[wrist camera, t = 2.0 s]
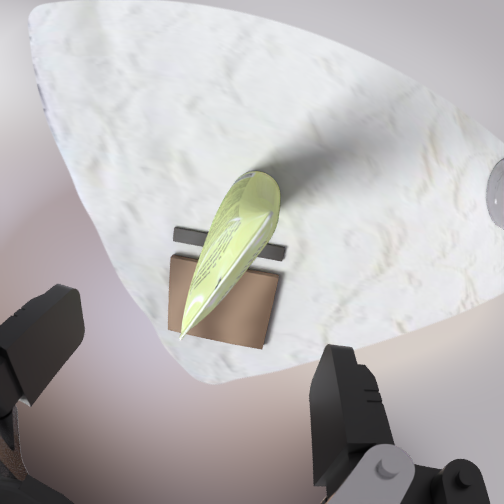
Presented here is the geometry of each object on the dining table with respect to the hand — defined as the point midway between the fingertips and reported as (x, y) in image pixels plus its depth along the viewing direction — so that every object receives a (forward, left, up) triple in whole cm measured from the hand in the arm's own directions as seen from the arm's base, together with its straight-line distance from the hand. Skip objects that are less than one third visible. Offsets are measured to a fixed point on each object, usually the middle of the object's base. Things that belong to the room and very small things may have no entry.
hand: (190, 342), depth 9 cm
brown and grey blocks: (+2, +11, -23) cm, 26 cm away
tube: (0, 0, -24) cm, 24 cm away
